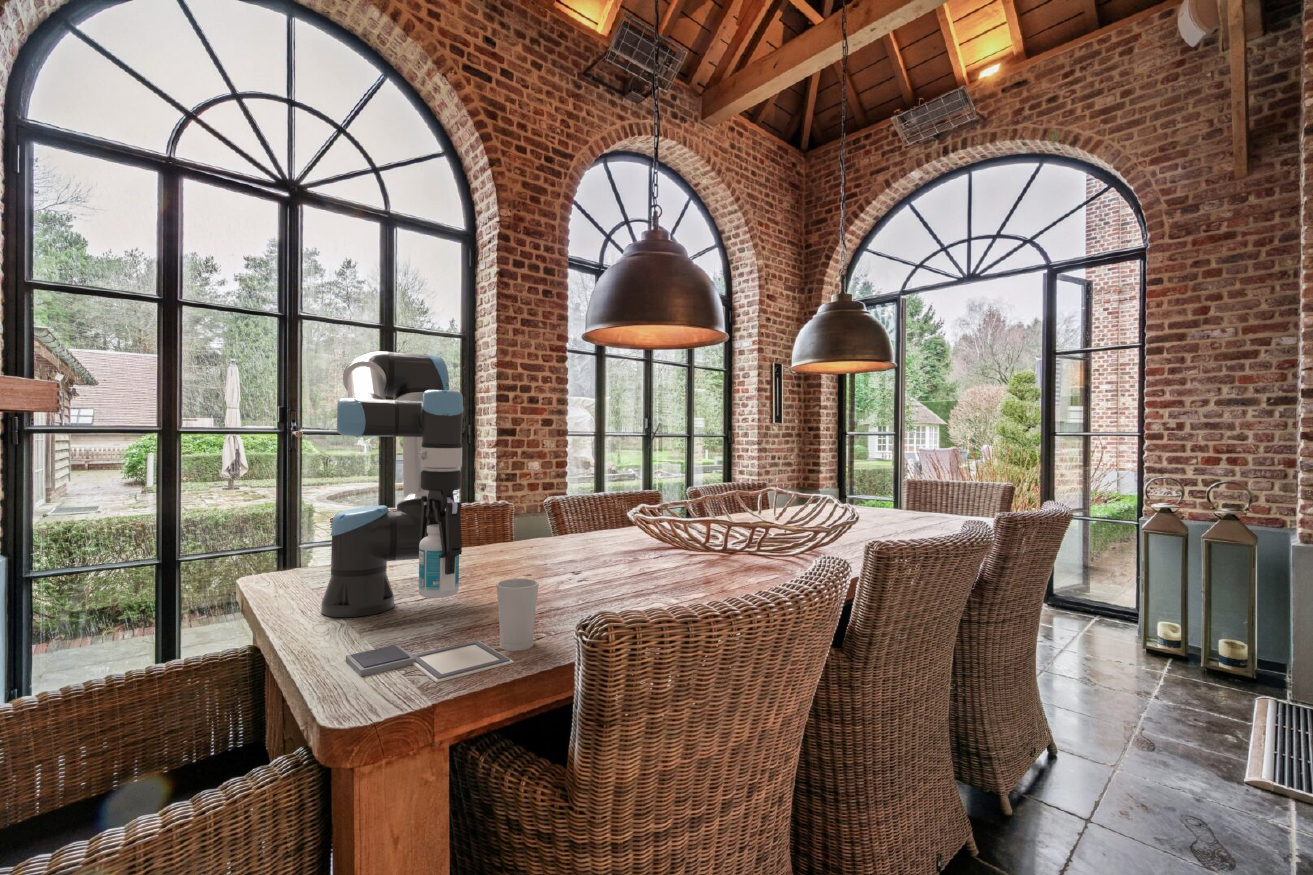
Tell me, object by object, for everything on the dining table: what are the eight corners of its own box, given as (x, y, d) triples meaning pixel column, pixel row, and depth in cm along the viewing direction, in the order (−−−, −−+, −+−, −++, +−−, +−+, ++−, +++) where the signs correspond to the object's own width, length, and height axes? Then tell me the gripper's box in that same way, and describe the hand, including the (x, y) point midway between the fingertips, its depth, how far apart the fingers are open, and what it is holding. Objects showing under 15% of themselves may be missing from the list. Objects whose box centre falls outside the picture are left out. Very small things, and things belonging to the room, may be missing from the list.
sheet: (405, 658, 109) (405, 655, 109) (478, 642, 118) (478, 639, 118) (436, 682, 98) (436, 679, 98) (513, 662, 108) (513, 659, 108)
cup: (499, 638, 121) (500, 578, 121) (539, 638, 121) (540, 578, 121) (491, 652, 113) (493, 588, 113) (535, 651, 113) (536, 588, 113)
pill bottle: (466, 591, 121) (467, 524, 120) (441, 601, 114) (443, 530, 113) (435, 587, 123) (437, 521, 123) (409, 596, 116) (411, 526, 116)
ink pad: (345, 660, 107) (345, 654, 107) (397, 649, 113) (397, 643, 113) (360, 676, 100) (361, 669, 100) (415, 663, 106) (415, 656, 106)
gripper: (403, 466, 123) (400, 577, 123) (443, 474, 108) (440, 601, 108) (439, 465, 128) (437, 572, 128) (482, 472, 113) (480, 594, 113)
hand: (438, 585), depth 118 cm, fingers closed on pill bottle, 7 cm apart
